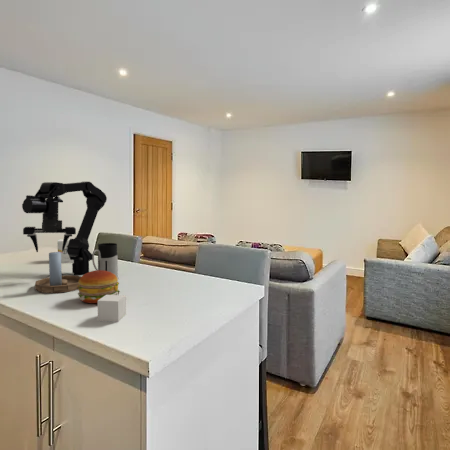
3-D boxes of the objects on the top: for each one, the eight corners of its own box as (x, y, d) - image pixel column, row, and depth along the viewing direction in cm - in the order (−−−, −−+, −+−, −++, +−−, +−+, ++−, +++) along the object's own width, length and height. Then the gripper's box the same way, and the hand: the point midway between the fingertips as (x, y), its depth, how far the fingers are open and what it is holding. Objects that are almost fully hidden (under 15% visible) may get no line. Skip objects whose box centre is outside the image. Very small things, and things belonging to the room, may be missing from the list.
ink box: (58, 260, 185) (57, 238, 185) (75, 259, 189) (74, 238, 188) (57, 263, 178) (57, 240, 177) (75, 262, 181) (75, 240, 180)
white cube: (97, 321, 98) (97, 300, 97) (106, 314, 104) (106, 294, 103) (118, 322, 97) (118, 301, 97) (126, 315, 103) (125, 295, 103)
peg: (60, 285, 130) (60, 251, 129) (62, 288, 127) (61, 253, 126) (49, 287, 128) (48, 252, 127) (50, 289, 125) (49, 254, 124)
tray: (84, 280, 144) (84, 274, 144) (86, 290, 128) (86, 283, 128) (37, 283, 137) (37, 277, 137) (33, 295, 121) (33, 288, 121)
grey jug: (122, 278, 149) (122, 243, 147) (102, 286, 135) (102, 248, 134) (105, 276, 151) (104, 242, 150) (83, 284, 137) (83, 246, 136)
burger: (71, 299, 118) (70, 270, 117) (108, 292, 127) (108, 265, 126) (87, 308, 108) (87, 277, 107) (127, 300, 118) (127, 271, 117)
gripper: (21, 213, 128) (21, 255, 129) (76, 214, 136) (75, 253, 137) (24, 212, 139) (24, 251, 139) (75, 213, 146) (75, 250, 147)
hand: (50, 251), depth 140 cm, fingers open, 9 cm apart
